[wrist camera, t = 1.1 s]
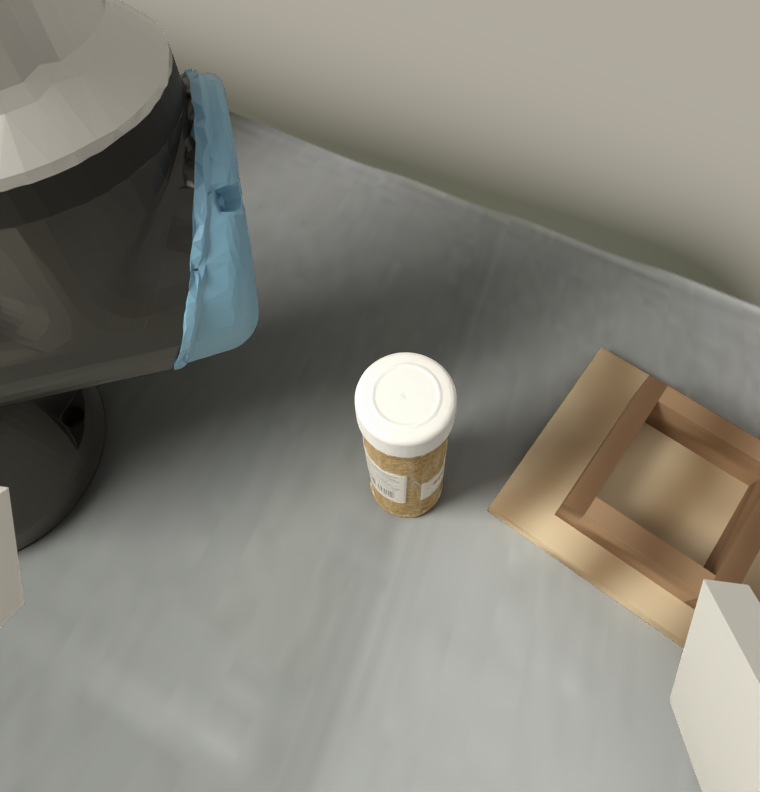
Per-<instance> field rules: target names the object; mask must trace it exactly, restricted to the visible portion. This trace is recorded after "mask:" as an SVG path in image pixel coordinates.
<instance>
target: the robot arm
mask: <svg viewBox="0 0 760 792" xmlns="http://www.w3.org/2000/svg"><path fill="white" fill-rule="evenodd" d="M258 317H259V306H258V296H257V288H256V280H255V273H254V266H253V260H252V253H251V246H250V240H249V233H248V227H247V221H246V215H245V209H244V204H243V200H242V190H241V184H240V178H239V172H238V162H237V156H236V150H235V143H234V137H233V131H232V126H231V120H230V114H229V109H228V104H227V98H226V93H225V88H224V86H223V83H222V81H221V79H220V78H219V77H218V76H216V75H215V74H212V73H199V72H198V71H196V70H194V71H192V69H189V70H186V71H185V72H184V73H183V74H182V75H179V72H178V69H177V66H176V63H175V60H174V57H173V54H172V51H171V48H170V45H169V43H168V40H167V38H166V36H165V35H164V33H163V31H162V29H161V28H160V27H159V25H158V24H157V23H156V22H155V21H154V20H153V19H151V18H150V17H149V16H147V15H146V14H145V13H143V12H141V11H139V10H137V9H135V8H134V7H132V6H130V5H128V4H126V3H124V2H122V1H120V0H0V628H1V627H2V626H3V625H4V624H5V623H6V622H7V621H8V620H9V619H10V618H11V617H12V616H13V615H14V614H15V613H16V612H17V611H18V610H19V609H20V608H21V607H22V606H23V605H24V597H23V590H22V582H21V575H20V568H19V560H18V553H17V550H20V549H21V548H23V547H25V546H27V545H29V544H31V543H32V542H34V541H36V540H37V539H38V538H40V537H41V536H43V535H44V534H46V533H47V532H48V531H49V530H51V529H52V528H53V527H54V526H55V525H56V524H58V523H59V522H60V521H61V520H62V519H63V518H64V517H65V516H66V515H67V514H68V513H69V512H70V510H71V509H72V508H73V507H74V506H75V504H76V503H77V502H78V501H79V499H80V498H81V496H82V495H83V493H84V492H85V490H86V489H87V487H88V485H89V483H90V482H91V480H92V478H93V476H94V473H95V471H96V469H97V466H98V463H99V460H100V457H101V454H102V450H103V445H104V438H105V415H104V408H103V404H102V400H101V397H100V394H99V392H98V389H97V387H96V385H100V384H105V383H110V382H114V381H119V380H124V379H128V378H133V377H137V376H142V375H147V374H151V373H156V372H160V371H165V370H170V369H172V370H173V369H174V370H176V369H181V368H183V367H184V366H186V364H187V363H189V362H192V361H195V360H199V359H202V358H205V357H209V356H212V355H215V354H219V353H222V352H225V351H228V350H232V349H235V348H237V347H239V346H240V345H242V344H243V343H244V342H245V341H246V340H248V339H249V338H250V336H251V335H252V334H253V332H254V330H255V328H256V326H257V323H258ZM669 701H670V703H671V706H672V709H673V712H674V715H675V717H676V720H677V723H678V726H679V729H680V732H681V734H682V737H683V740H684V743H685V746H686V748H687V751H688V754H689V757H690V760H691V763H692V765H693V768H694V771H695V774H696V777H697V779H698V782H699V785H700V788H701V791H702V792H760V602H759V601H758V599H757V598H756V596H755V594H754V593H753V591H752V590H751V588H750V586H749V585H745V584H737V583H730V582H722V581H715V580H707V579H703V583H702V586H701V590H700V594H699V597H698V601H697V604H696V608H695V611H694V615H693V618H692V622H691V625H690V629H689V632H688V636H687V639H686V643H685V646H684V650H683V653H682V657H681V660H680V664H679V667H678V671H677V674H676V678H675V681H674V685H673V688H672V692H671V695H670V699H669Z"/></svg>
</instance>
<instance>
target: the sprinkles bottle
mask: <svg viewBox="0 0 760 792" xmlns="http://www.w3.org/2000/svg"><path fill="white" fill-rule="evenodd" d="M456 408H457V393H456V388H455V385H454V383H453V380H452V378H451V377H450V375H449V374H448V372H447V371H446V370H445V369H444V368H443V367H442V366H441V365H440V364H439V363H438V362H436V361H435V360H433V359H431V358H429V357H427V356H424V355H421V354H417V353H411V352H401V353H395V354H390V355H387V356H385V357H383V358H380V359H379V360H377V361H376V362H374V363H373V364H372V365H371V366H369V367H368V368H367V369H366V370H365V372H364V373H363V375H362V376H361V378H360V380H359V382H358V385H357V387H356V392H355V411H356V418H357V422H358V425H359V428H360V430H361V432H362V434H363V443H364V449H365V455H366V460H367V465H368V470H369V475H370V488H371V491H372V494H373V497H374V498H375V500H376V502H377V503H378V505H379V506H380V507H381V508H383V509H384V510H385V511H386V512H388V513H390V514H393V515H395V516H399V517H417V516H419V515H422V514H424V513H425V512H427V511H428V510H429V509H431V508H432V507H433V506H434V505H435V504H436V503H437V501H438V499H439V497H440V495H441V493H442V488H443V474H444V467H445V458H446V452H447V444H448V435H449V434H450V432H451V430H452V427H453V424H454V421H455V416H456Z"/></svg>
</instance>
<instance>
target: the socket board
mask: <svg viewBox="0 0 760 792" xmlns="http://www.w3.org/2000/svg"><path fill="white" fill-rule="evenodd" d="M488 512H490V513H491V514H493V515H494V516H495V517H497V518H498V519H500V520H501V521H503V522H504V523H505V524H507V525H508V526H510V527H511V528H513V529H514V530H515V531H517V532H518V533H520V534H521V535H523V536H524V537H526V538H527V539H528V540H530V541H531V542H533V543H534V544H536V545H537V546H538V547H540V548H541V549H543V550H544V551H546V552H547V553H548V554H550V555H551V556H553V557H554V558H556V559H557V560H558V561H560V562H561V563H563V564H564V565H566V566H567V567H568V568H570V569H571V570H573V571H574V572H576V573H577V574H578V575H580V576H581V577H583V578H584V579H586V580H587V581H589V582H590V583H591V584H593V585H594V586H596V587H597V588H599V589H600V590H601V591H603V592H604V593H606V594H607V595H609V596H610V597H611V598H613V599H614V600H616V601H617V602H619V603H620V604H621V605H623V606H624V607H626V608H627V609H629V610H630V611H631V612H633V613H634V614H636V615H637V616H639V617H640V618H641V619H643V620H644V621H646V622H647V623H649V624H650V625H652V626H653V627H654V628H656V629H657V630H659V631H660V632H662V633H663V634H664V635H666V636H667V637H669V638H670V639H672V640H673V641H674V642H676V643H677V644H679V645H680V646H682V647H683V648H684V646H685V643H686V639H687V636H688V632H689V629H690V625H691V622H692V618H693V615H694V611H695V608H696V604H697V601H698V597H699V594H700V590H701V586H702V583H703V579H707V580H715V581H722V582H730V583H737V584H745V585H749V586H750V588H751V590H752V591H753V593H754V594H755V596H756V598H757V599H758V601H759V602H760V440H759V439H757V438H756V437H754V436H752V435H751V434H749V433H747V432H746V431H744V430H742V429H740V428H739V427H737V426H735V425H734V424H732V423H730V422H729V421H727V420H725V419H724V418H722V417H720V416H718V415H717V414H715V413H713V412H712V411H710V410H708V409H707V408H705V407H703V406H702V405H700V404H698V403H696V402H695V401H693V400H691V399H690V398H688V397H686V396H685V395H683V394H681V393H679V392H678V391H676V390H674V389H673V388H671V387H669V386H668V385H666V384H664V383H663V382H661V381H659V380H657V379H656V378H654V377H652V376H651V375H648V374H646V373H645V372H643V371H641V370H639V369H638V368H636V367H634V366H633V365H631V364H629V363H628V362H626V361H624V360H623V359H621V358H619V357H617V356H616V355H614V354H612V353H611V352H609V351H607V350H606V349H604V348H602V347H601V348H600V350H599V351H598V353H597V354H596V355H595V357H594V358H593V360H592V361H591V362H590V364H589V365H588V367H587V368H586V370H585V371H584V372H583V374H582V375H581V377H580V378H579V380H578V381H577V382H576V384H575V385H574V387H573V388H572V389H571V391H570V392H569V394H568V395H567V397H566V398H565V399H564V401H563V402H562V404H561V405H560V407H559V408H558V409H557V411H556V412H555V414H554V415H553V416H552V418H551V419H550V421H549V422H548V424H547V425H546V426H545V428H544V429H543V431H542V432H541V434H540V435H539V436H538V438H537V439H536V441H535V442H534V444H533V445H532V446H531V448H530V449H529V451H528V452H527V453H526V455H525V456H524V458H523V459H522V461H521V462H520V463H519V465H518V466H517V468H516V469H515V471H514V472H513V473H512V475H511V476H510V478H509V479H508V480H507V482H506V483H505V485H504V486H503V488H502V489H501V490H500V492H499V493H498V495H497V496H496V498H495V499H494V500H493V502H492V503H491V505H490V506H489V508H488Z"/></svg>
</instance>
